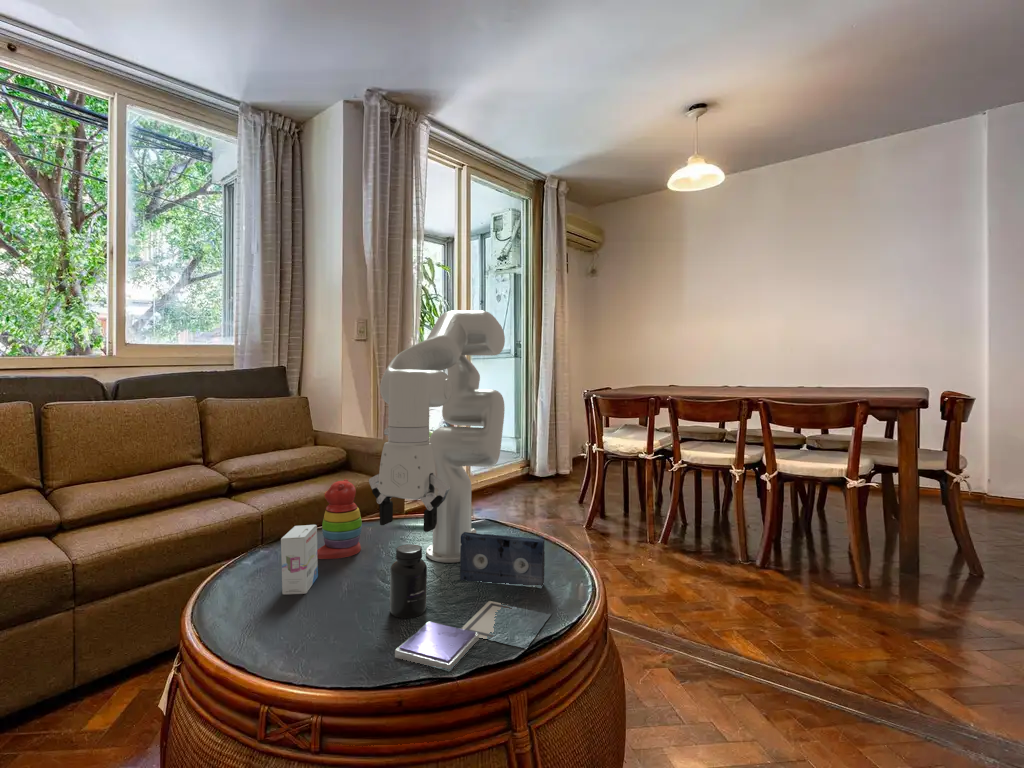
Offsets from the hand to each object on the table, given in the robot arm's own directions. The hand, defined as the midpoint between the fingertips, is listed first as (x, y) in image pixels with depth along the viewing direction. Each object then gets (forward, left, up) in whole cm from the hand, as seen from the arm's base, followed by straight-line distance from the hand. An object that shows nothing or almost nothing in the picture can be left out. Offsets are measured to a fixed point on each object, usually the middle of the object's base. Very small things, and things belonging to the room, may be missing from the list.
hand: (407, 526), depth 95 cm
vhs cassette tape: (-20, +11, -17) cm, 28 cm away
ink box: (-1, -27, -17) cm, 32 cm away
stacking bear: (-20, -33, -17) cm, 42 cm away
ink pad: (+8, +12, -16) cm, 22 cm away
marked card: (-4, +19, -16) cm, 25 cm away
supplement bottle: (-1, 0, -17) cm, 17 cm away
